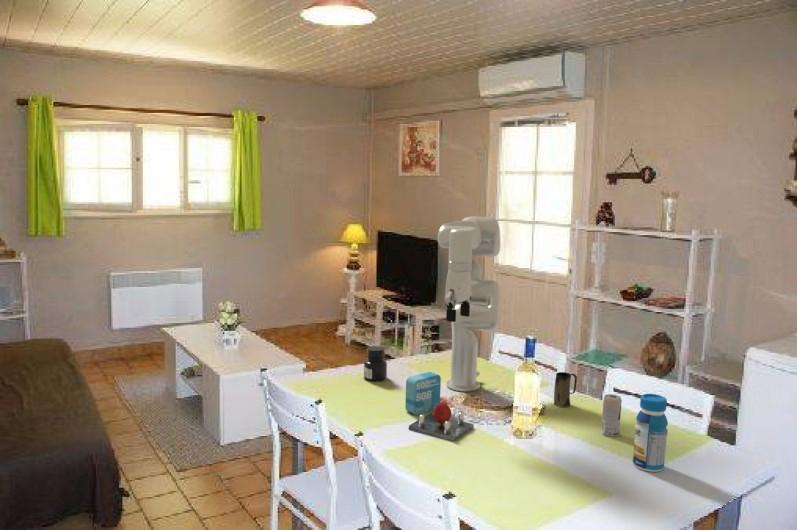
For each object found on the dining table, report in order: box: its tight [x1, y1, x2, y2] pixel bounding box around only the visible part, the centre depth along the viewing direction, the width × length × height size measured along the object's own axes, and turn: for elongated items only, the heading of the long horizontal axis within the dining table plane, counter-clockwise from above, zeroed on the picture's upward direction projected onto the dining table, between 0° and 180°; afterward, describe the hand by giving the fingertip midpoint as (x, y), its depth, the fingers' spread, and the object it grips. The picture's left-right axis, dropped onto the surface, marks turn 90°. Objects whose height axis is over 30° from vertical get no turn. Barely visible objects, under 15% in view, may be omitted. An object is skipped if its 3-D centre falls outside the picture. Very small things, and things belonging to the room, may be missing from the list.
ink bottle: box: [363, 345, 388, 382], centre depth 253 cm, size 10×9×12 cm
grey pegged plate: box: [408, 406, 475, 442], centre depth 205 cm, size 13×16×5 cm
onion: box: [432, 400, 452, 425], centre depth 205 cm, size 6×6×8 cm
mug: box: [553, 371, 578, 409], centre depth 228 cm, size 8×6×12 cm
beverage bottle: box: [632, 393, 669, 473], centre depth 181 cm, size 8×8×20 cm
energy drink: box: [600, 393, 623, 438], centre depth 204 cm, size 5×5×12 cm
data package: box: [404, 371, 442, 415], centre depth 221 cm, size 12×4×12 cm, turn 130°
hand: (457, 318), depth 215 cm, fingers open, 9 cm apart
